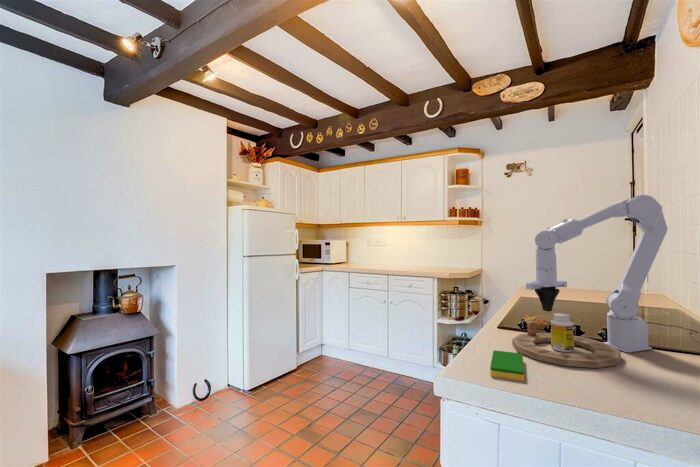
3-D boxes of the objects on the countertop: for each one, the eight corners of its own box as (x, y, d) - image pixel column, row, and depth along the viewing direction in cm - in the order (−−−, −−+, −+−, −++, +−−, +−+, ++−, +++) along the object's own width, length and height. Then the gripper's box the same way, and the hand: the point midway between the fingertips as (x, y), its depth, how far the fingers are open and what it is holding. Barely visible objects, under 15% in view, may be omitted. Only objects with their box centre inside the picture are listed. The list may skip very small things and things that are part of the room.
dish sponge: (522, 362, 88) (522, 353, 88) (524, 382, 76) (523, 372, 76) (493, 358, 92) (493, 349, 92) (490, 377, 79) (490, 367, 79)
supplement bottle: (568, 354, 92) (567, 317, 93) (547, 349, 97) (546, 313, 97) (577, 350, 96) (576, 314, 96) (556, 345, 100) (555, 311, 100)
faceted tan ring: (559, 334, 110) (558, 317, 110) (644, 360, 86) (643, 338, 86) (495, 342, 103) (494, 324, 104) (568, 372, 79) (567, 349, 79)
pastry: (557, 329, 118) (556, 319, 118) (543, 332, 115) (543, 321, 115) (533, 323, 126) (532, 313, 126) (520, 326, 124) (520, 315, 124)
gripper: (553, 266, 113) (554, 306, 113) (518, 268, 109) (519, 309, 109) (572, 268, 106) (573, 311, 106) (535, 270, 102) (536, 314, 102)
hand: (547, 310), depth 107 cm, fingers closed
